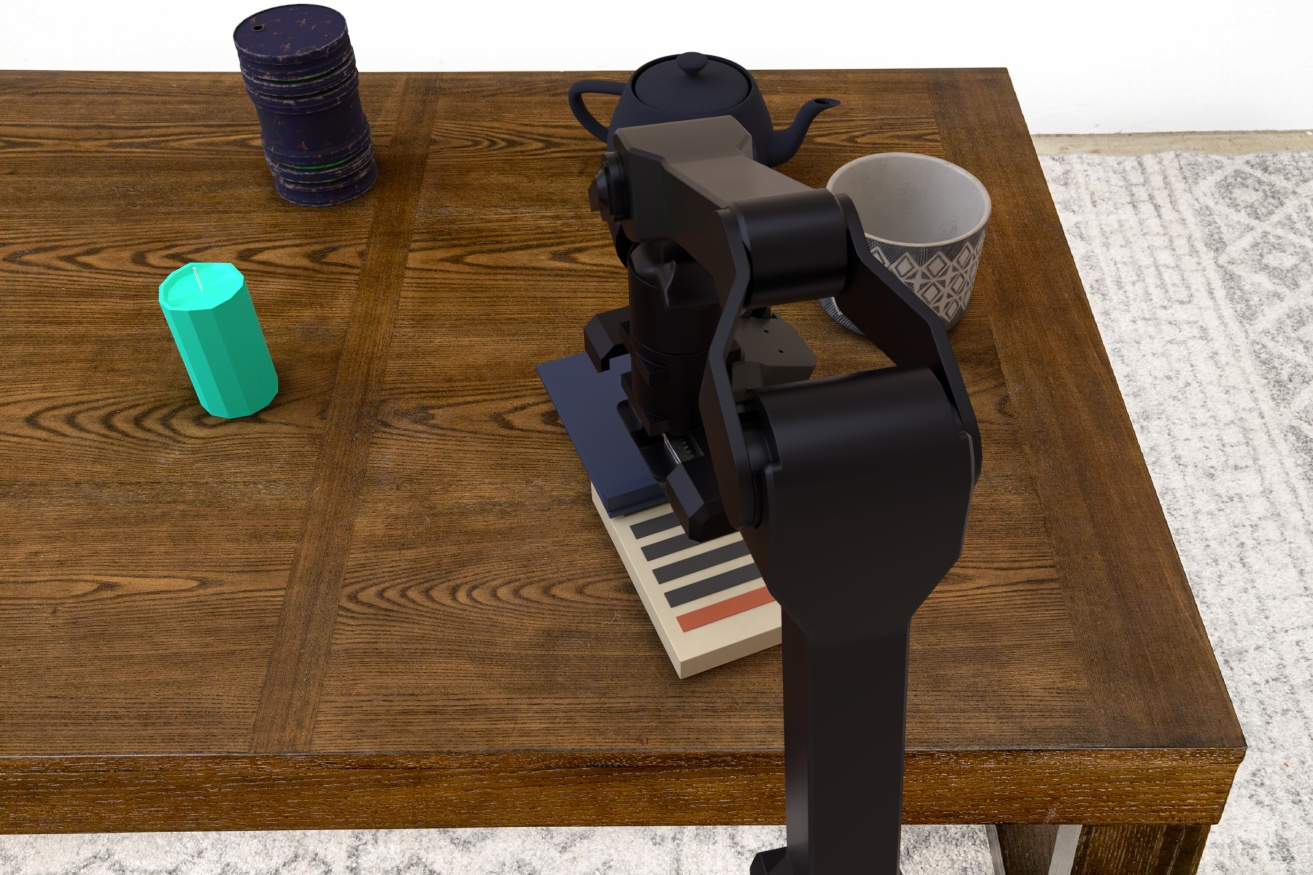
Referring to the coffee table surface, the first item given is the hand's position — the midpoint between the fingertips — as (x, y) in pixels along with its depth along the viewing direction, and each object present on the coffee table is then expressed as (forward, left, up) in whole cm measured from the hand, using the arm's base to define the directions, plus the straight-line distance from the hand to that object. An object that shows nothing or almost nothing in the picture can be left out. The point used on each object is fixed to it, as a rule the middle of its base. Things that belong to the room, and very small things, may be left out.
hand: (677, 499), depth 78 cm
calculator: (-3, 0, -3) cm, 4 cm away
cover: (+9, 0, -1) cm, 9 cm away
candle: (+26, +26, -3) cm, 37 cm away
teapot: (+39, -19, -3) cm, 43 cm away
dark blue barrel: (+53, +14, -3) cm, 55 cm away
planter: (+16, -26, -3) cm, 31 cm away
